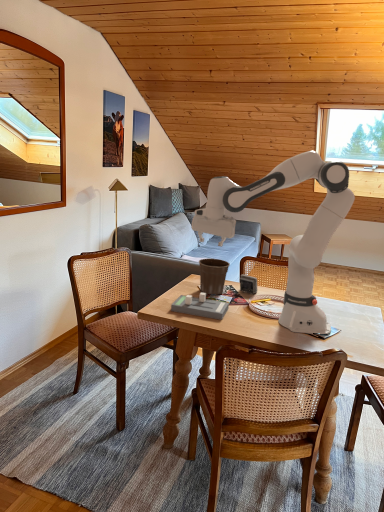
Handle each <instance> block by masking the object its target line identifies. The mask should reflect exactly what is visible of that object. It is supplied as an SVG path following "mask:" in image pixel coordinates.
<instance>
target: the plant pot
mask: <svg viewBox="0 0 384 512" xmlns="http://www.w3.org/2000/svg"><path fill="white" fill-rule="evenodd" d="M198 264H199V274H200V276H199V282H200V284H199V285H200V287H199V288H200V289H199V290H200V293H201V292H202V293H206V295H208V294H216V295H215V296H218V295H222V294H223V293H224V287H225V282H226V279H227V273H228V272H229V267H230V262H228V261H226V260H223V259H218V258H201V259H199V260H198Z"/></svg>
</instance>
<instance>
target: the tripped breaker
mask: <svg viewBox="0 0 384 512" xmlns="http://www.w3.org/2000/svg"><path fill="white" fill-rule="evenodd" d="M198 298H199V301H200V302H205V300H206V299H207V294H206V293H204V292H201V291H200V293H199V297H198Z"/></svg>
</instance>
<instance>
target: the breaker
mask: <svg viewBox="0 0 384 512" xmlns="http://www.w3.org/2000/svg"><path fill="white" fill-rule="evenodd" d="M185 296H186V299H185V304H188V305H190V304H191V303H192V297H193V295H191V294H187V295H185Z"/></svg>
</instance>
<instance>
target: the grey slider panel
mask: <svg viewBox="0 0 384 512" xmlns="http://www.w3.org/2000/svg"><path fill="white" fill-rule="evenodd" d="M186 296H187V295H183V294H180V296H178V297H177V299H175V300H174V301H173V302H172V303H171V305H170V307H171V308H170V312H176V313H181V314H188V315H193V316H196V317H197V316H198V317H204V318H209V319H215V320H220V321H222V320H223V319H224V317H225V315H226V313H227V312H228V310H229V306H230V305H229V304H230V303H229V302H224V301H221V300H220V301H219V300H213V299H209V298H206V300H205V302H200V301H199V297H195V296H192V303H191V304H190V305H188V304H185V299H186Z"/></svg>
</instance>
